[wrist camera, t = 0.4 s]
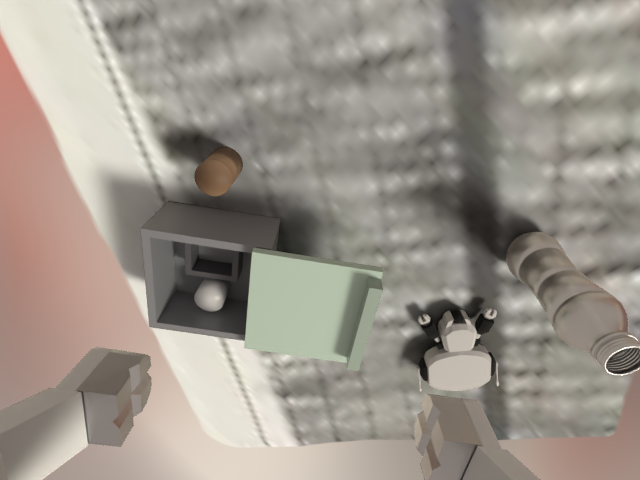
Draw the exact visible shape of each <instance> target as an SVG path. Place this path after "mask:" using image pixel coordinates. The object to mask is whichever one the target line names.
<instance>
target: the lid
mask: <svg viewBox="0 0 640 480" xmlns="http://www.w3.org/2000/svg"><path fill="white" fill-rule="evenodd" d="M382 274H383V270H382V267H375V266H369V265H362V264H356V263H350V262H343V261H337V260H330V259H324V258H317V257H311V256H305V255H298V254H292V253H285V252H279V251H272V250H266V249H260V248H253V251H252V258H251V271H250V283H249V296H248V308H247V321H246V333H245V346H244V348H247V349H254V350H261V351H268V352H275V353H282V354H289V355H296V356H303V357H310V358H316V359H323V360H330V361H337V362H344V363H347V369H348V370H355V371H359V367H360V364H361V361H362V357H363V354H364V351H365V348H366V344H367V341H368V338H369V334H370V331H371V328H372V324H373V321H374V318H375V314H376V311H377V308H378V304H379V301H380V298H381V295H382V291H383V288H382V283H381V278H382Z"/></svg>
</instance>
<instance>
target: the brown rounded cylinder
mask: <svg viewBox="0 0 640 480" xmlns="http://www.w3.org/2000/svg"><path fill="white" fill-rule="evenodd" d="M242 167H243V163H242V159H241V157H240V155H239V154H238V153H237V152H236V151H235V150H233V149H231V148H228V147H221V148H218V149H217V150H215V151H214V152H213V153H212V154H211V155H210V156H209V157H208V158H207V159H206V160H205V161H204V162H202V163H201V164H200V165H199V166H198V167H197V169H196V171H195V182H196V184H197V186H198V188H199V189H200V190H201V191H202V192H204V193H205V194H207V195H210V196H220V195H223V194H224V193H226V192H227V191H228V189H229V188H230V187H231V185H232V184H233V182H234V181H235V179H236V178H237V177H238V175H239V174H240V172H241V170H242Z"/></svg>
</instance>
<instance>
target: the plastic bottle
mask: <svg viewBox="0 0 640 480" xmlns="http://www.w3.org/2000/svg"><path fill="white" fill-rule="evenodd" d="M506 262H507V265H508V267H509V270H510V271H511V273H512V274H513V275H514V276H515V277H516V278H517V279H519V280H520V281H521V282H523V283H524V284H525V285H526V286H527V287H528V288H529V289H530V290H531V292H532V293H533V294H534V295H535V296H536V298H537V299H538V300H539V302H540V304H541V305H542V307H543V308H544V310H545V312H546V314H547V316H548V318H549V320H550V322H551V324H552V326H553V328H554V330H555V332H556V333H557V335H558V336H559V338H560V339H561V340H562V341H564V342H565V343H567V344H568V345H569V346H571V347H573V348H575V349H578V350H581V351H585V352H589V353H591V356H592V357H593V358H594V360H595V361H596V362H598V363H599V364H600V365H601V366H602V367H603V369H604V370H605V371H606V372H608V373H609V374H611V375H618V376H619V375H627V374H630V373H633V372H635V371H637V370H638V369H640V343H639V341H638V340H637V338H636V337H635V336H634V335H633V334H631V333H629V332H628V327H629V325H628V316H627V313H626V311H625V309H624V307H623V305H622V303H621V302H620V301H618V300H617V299H616V298H615V297H614V296H612V295H611V294H609V293H608V292H607V291H605V290H604V289H602V288H601V287H599V286H598V285H596V284H595V283H593V282H592V281H591V280H590V279H588V278H587V277H586V276H585V275H584V274H583V273H581V272H580V271H579V270H578V269H577V268H576V267H575V266H574V264H573V263H572V262H571V261H570V259H569V258H568V257H567V256H566V254H565V252H564V250H563V248H562V247H561V245H560V244H559V243H558V241H557V240H555V239H554V238H552V237H551V236H549V235H547V234H545V233H542V232H530V233H525V234H523V235H520V236H519V237H517V238H516V239H515V240H513V241H512V243H511V244H510V246H509V247H508V250H507V252H506Z"/></svg>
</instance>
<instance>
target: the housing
mask: <svg viewBox="0 0 640 480" xmlns="http://www.w3.org/2000/svg"><path fill="white" fill-rule="evenodd" d="M280 220H281V219H278V218H272V217H266V216H259V215H253V214H247V213H241V212H234V211H228V210H222V209H216V208H209V207H203V206H197V205H191V204H184V203H178V202H172V201H168V202H167V203H166V204H165V205H164V206H163V207H162V208H161V209H160V210H159V211H158V212H157V213H156V214H155V215H154V216H153V217H152V218H151V219H150V220H149V221H148V222H147V223H146V224H145V225H144V226H143V227H142V228H141V240H142V251H143V262H144V273H145V284H146V295H147V306H148V317H149V327H153V328H160V329H167V330H174V331H181V332H188V333H194V334H201V335H208V336H215V337H222V338H229V339H236V340H243V341H245V333H246V321H247V308H248V296H249V283H250V271H251V258H252V251H253V248H260V249H266V250H272V251H277V245H278V237H279V228H280Z"/></svg>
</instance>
